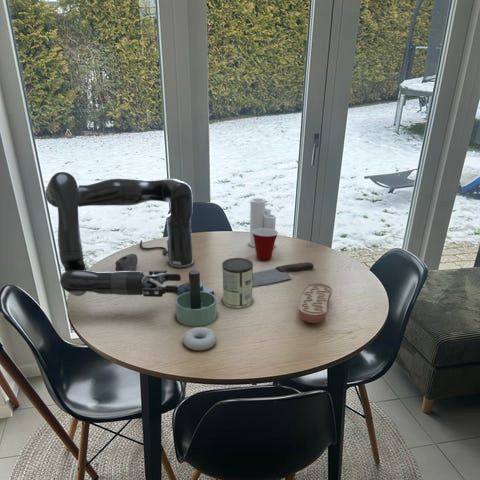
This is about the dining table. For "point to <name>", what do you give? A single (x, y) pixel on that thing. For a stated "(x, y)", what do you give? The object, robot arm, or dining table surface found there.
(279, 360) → the dining table surface
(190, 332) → the donut
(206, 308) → the processor bowl
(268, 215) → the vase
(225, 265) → the coffee can
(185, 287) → the control block
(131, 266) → the perforated stone tool
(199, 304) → the food processor blade
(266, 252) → the plastic cup
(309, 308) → the anatomical model
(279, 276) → the cleaver
